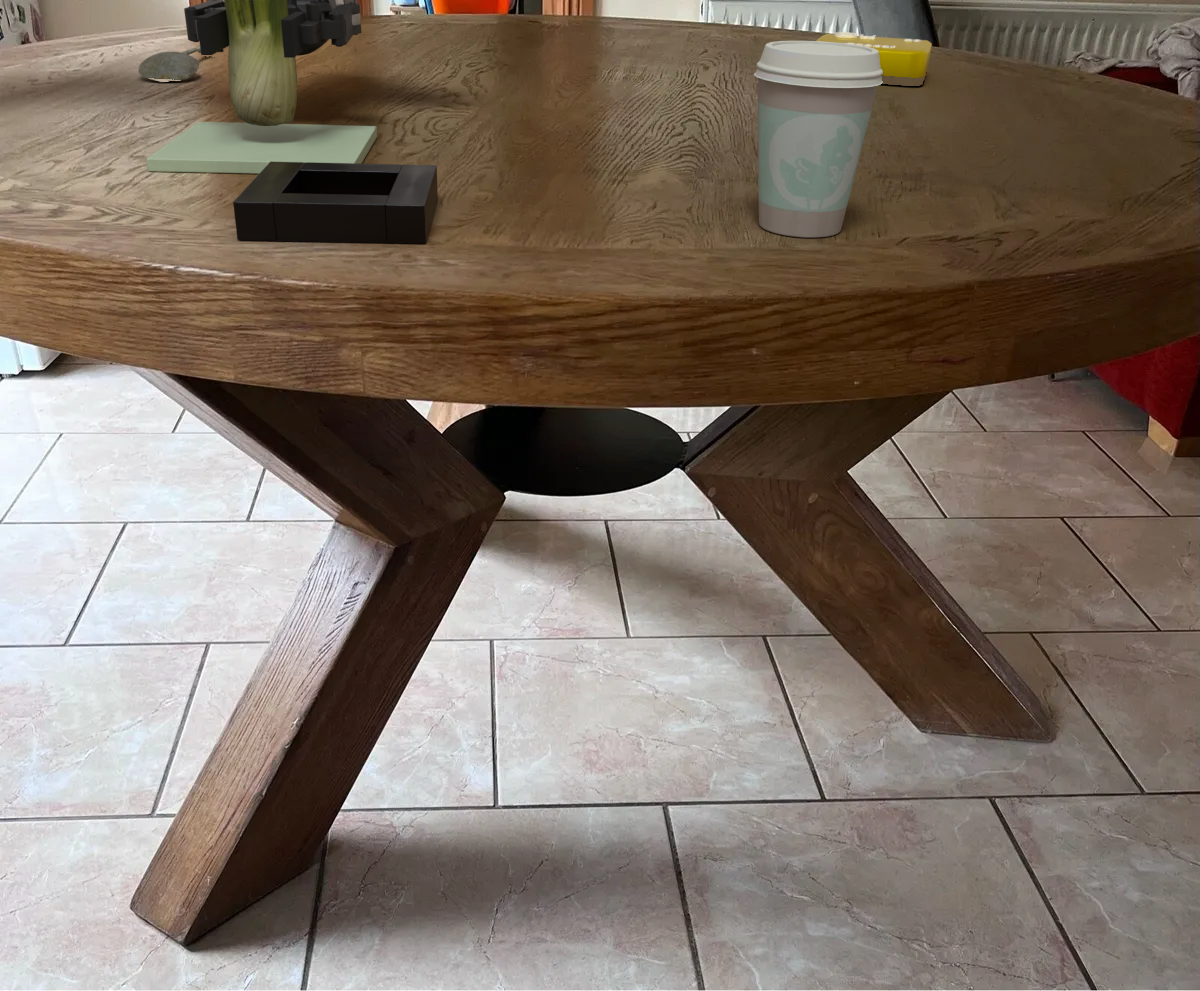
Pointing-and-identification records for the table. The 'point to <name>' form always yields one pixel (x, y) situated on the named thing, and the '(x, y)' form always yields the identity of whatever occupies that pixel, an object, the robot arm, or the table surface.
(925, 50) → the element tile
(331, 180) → the frame
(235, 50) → the fennel bulb
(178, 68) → the soupspoon
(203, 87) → the table surface
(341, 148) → the board
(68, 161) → the table surface
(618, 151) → the table surface
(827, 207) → the coffee cup
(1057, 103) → the table surface
